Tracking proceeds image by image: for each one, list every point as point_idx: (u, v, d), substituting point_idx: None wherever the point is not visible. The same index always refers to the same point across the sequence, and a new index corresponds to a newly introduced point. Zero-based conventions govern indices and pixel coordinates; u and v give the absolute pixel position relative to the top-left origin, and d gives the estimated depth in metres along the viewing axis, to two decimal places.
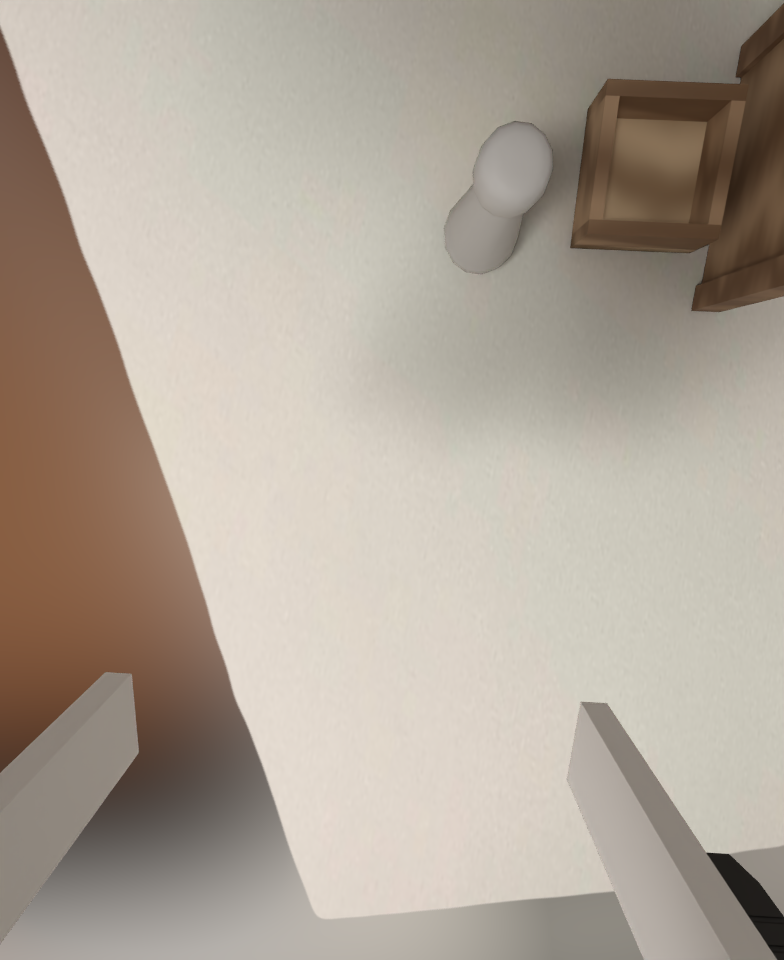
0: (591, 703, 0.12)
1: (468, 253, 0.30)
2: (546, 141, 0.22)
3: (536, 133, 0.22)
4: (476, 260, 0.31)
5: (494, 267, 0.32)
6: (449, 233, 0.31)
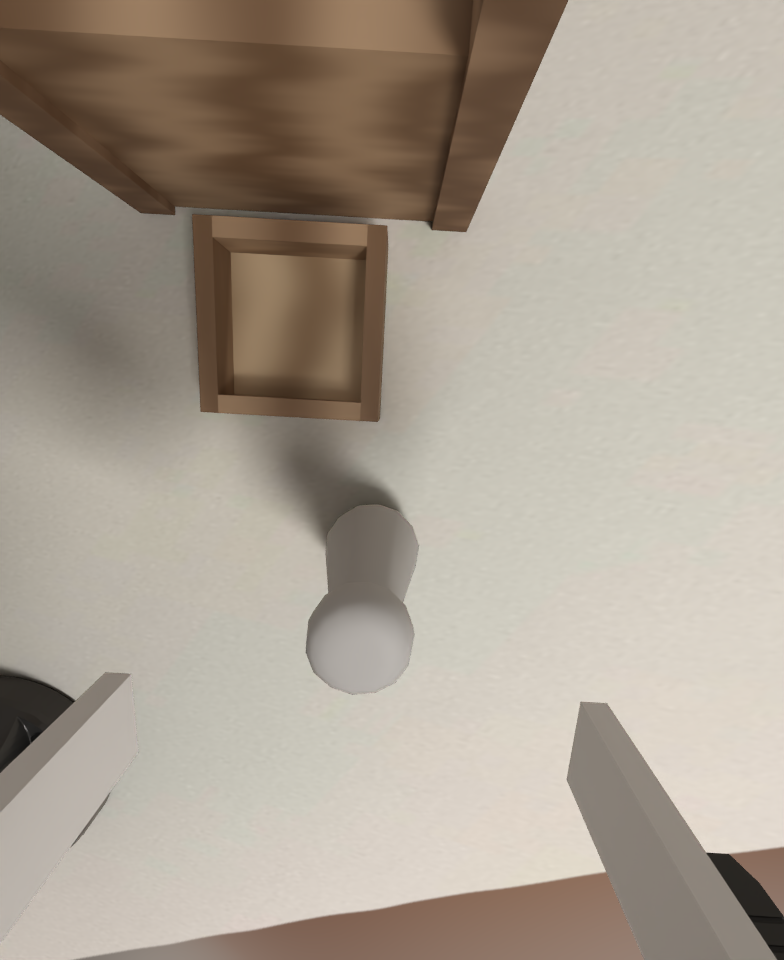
0: (591, 703, 0.12)
1: None
2: (331, 615, 0.15)
3: (323, 631, 0.15)
4: (412, 570, 0.24)
5: (413, 534, 0.25)
6: None
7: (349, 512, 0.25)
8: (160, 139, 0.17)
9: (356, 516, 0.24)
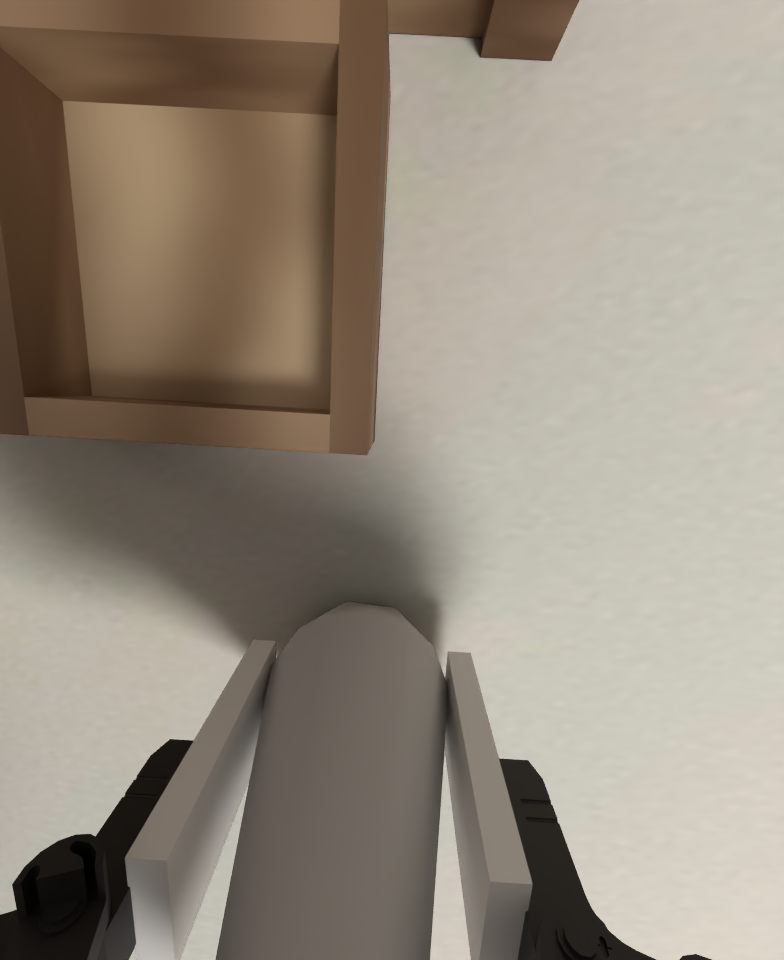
0: (456, 652, 0.13)
1: None
2: None
3: None
4: None
5: (439, 671, 0.13)
6: None
7: (312, 629, 0.13)
8: None
9: (323, 647, 0.11)
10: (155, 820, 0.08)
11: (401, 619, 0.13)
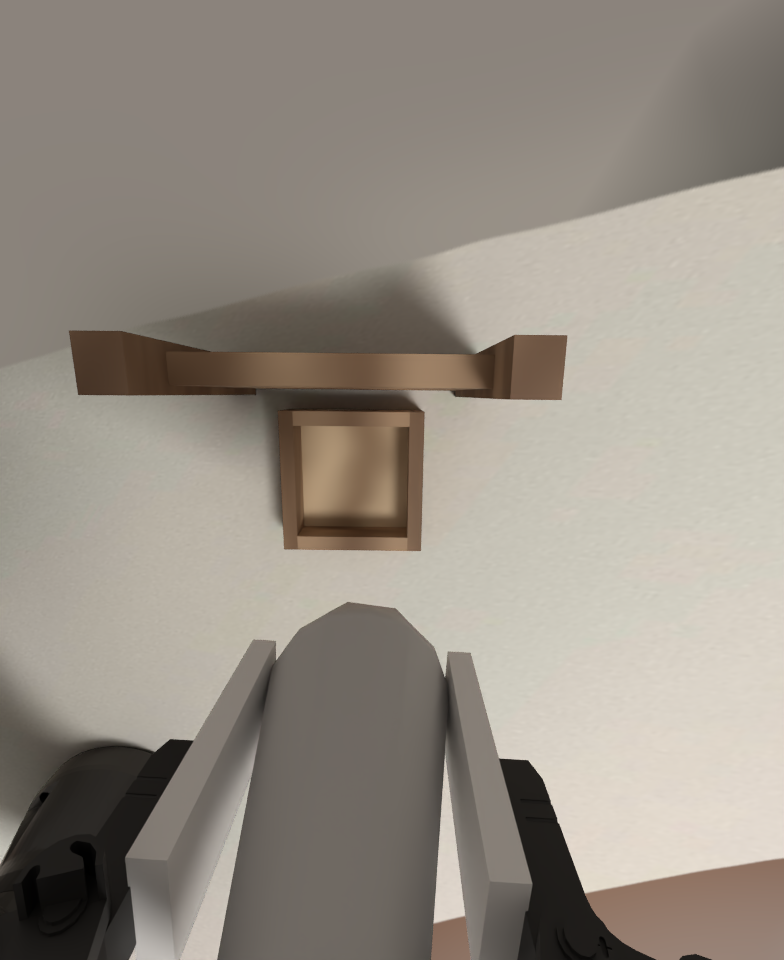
0: (456, 652, 0.13)
1: None
2: None
3: None
4: None
5: (440, 672, 0.13)
6: None
7: (313, 630, 0.13)
8: (267, 387, 0.24)
9: (324, 648, 0.11)
10: (155, 820, 0.08)
11: (402, 620, 0.13)
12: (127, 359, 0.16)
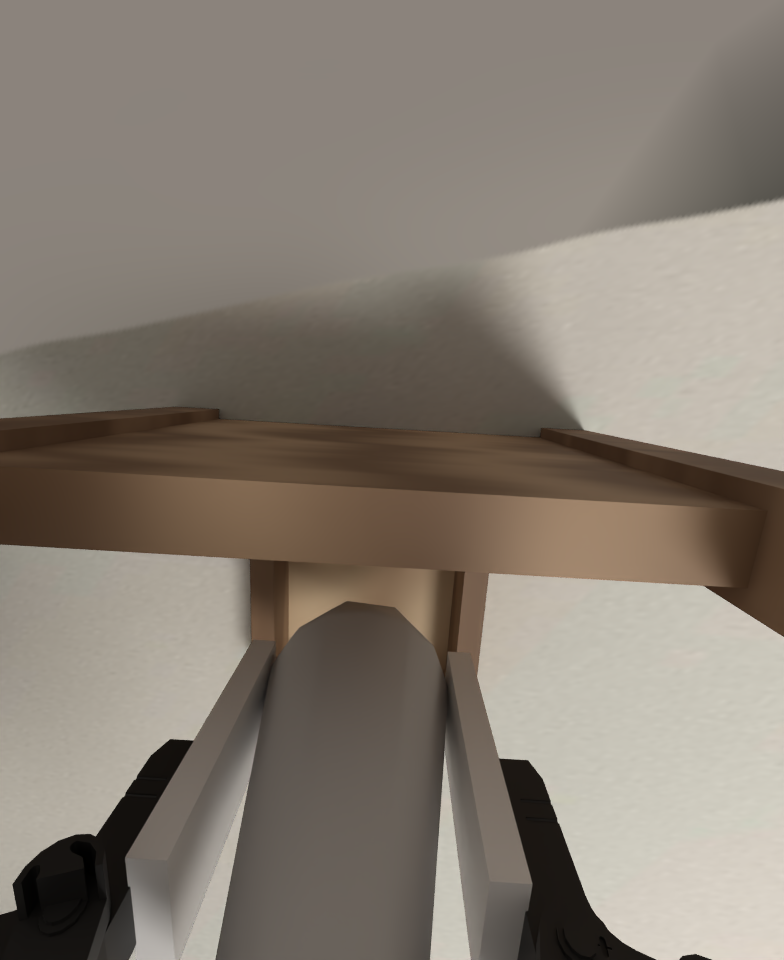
0: (456, 652, 0.13)
1: None
2: None
3: None
4: None
5: (439, 671, 0.13)
6: None
7: (312, 629, 0.13)
8: None
9: (323, 647, 0.11)
10: (155, 820, 0.08)
11: (401, 618, 0.13)
12: None
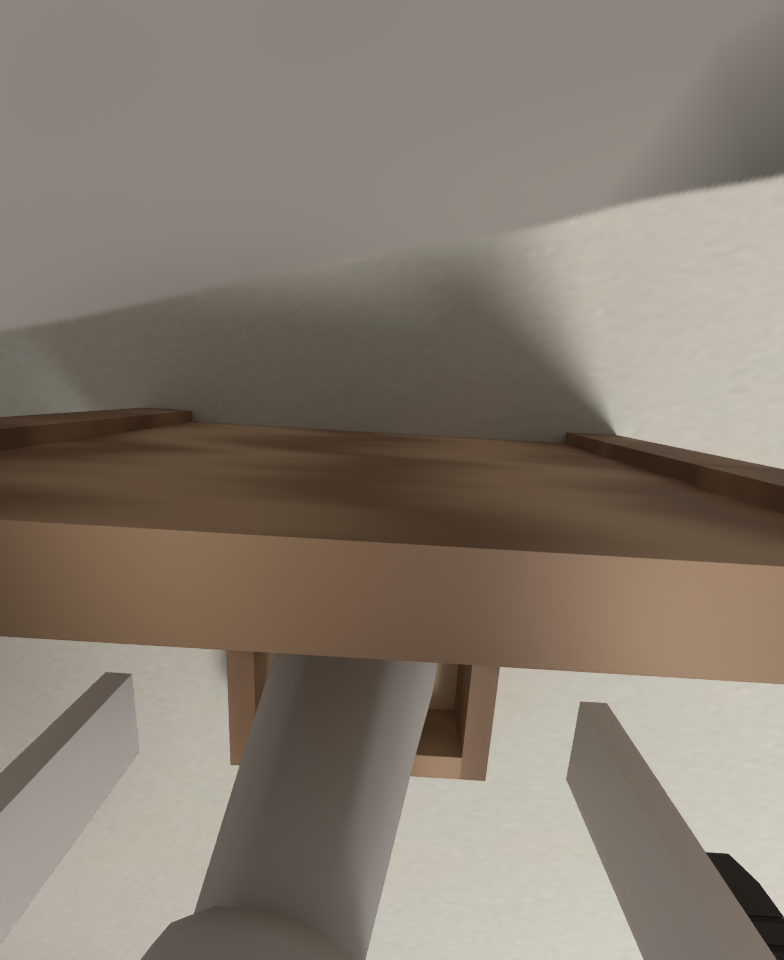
0: (591, 703, 0.12)
1: None
2: None
3: None
4: (423, 721, 0.13)
5: None
6: None
7: None
8: None
9: None
10: None
11: None
12: None
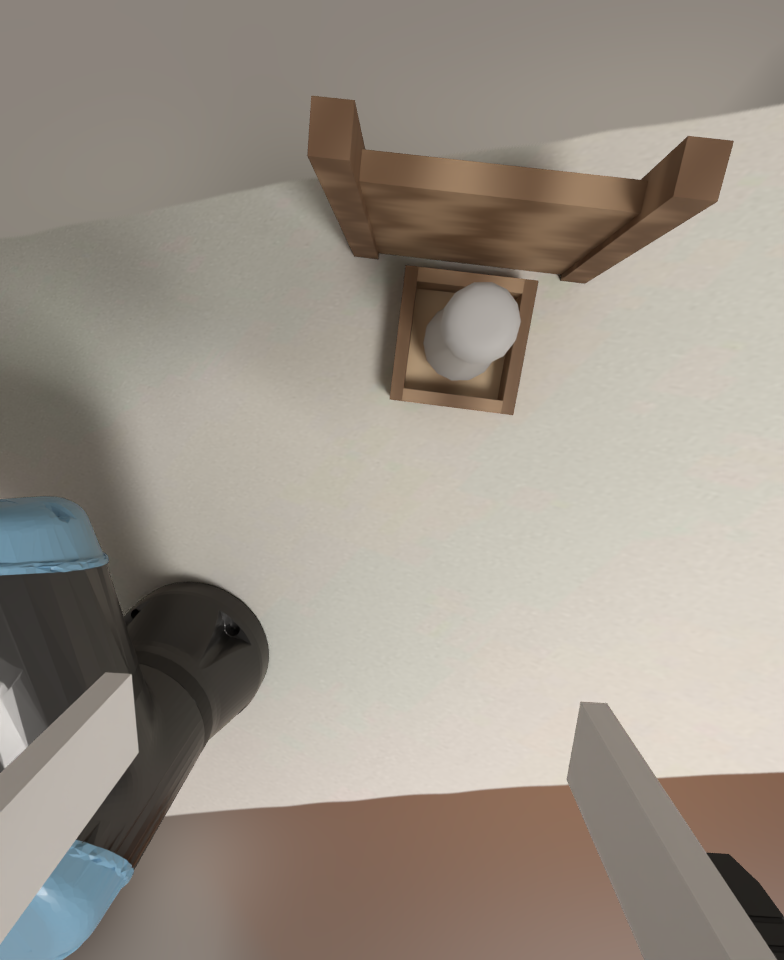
0: (591, 703, 0.12)
1: None
2: (467, 290, 0.21)
3: (460, 301, 0.21)
4: None
5: None
6: (465, 376, 0.31)
7: None
8: (414, 225, 0.27)
9: None
10: None
11: None
12: (353, 129, 0.19)
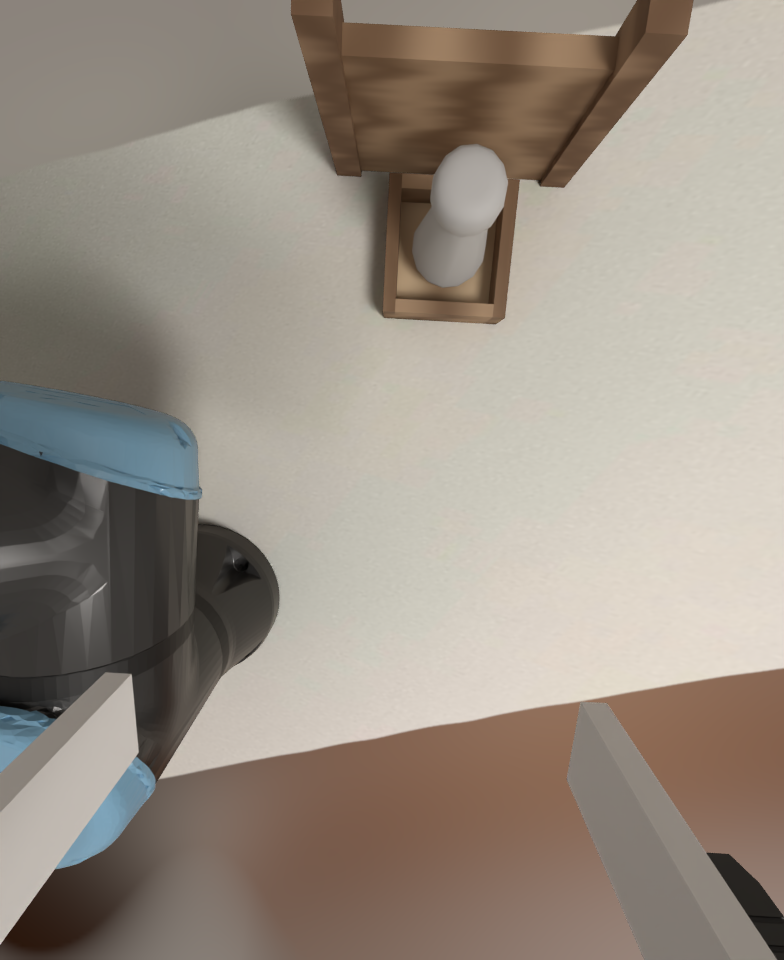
0: (591, 703, 0.12)
1: (480, 256, 0.30)
2: (454, 152, 0.22)
3: (448, 163, 0.22)
4: (484, 247, 0.31)
5: None
6: (455, 278, 0.32)
7: None
8: (396, 120, 0.28)
9: None
10: None
11: None
12: None
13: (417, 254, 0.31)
